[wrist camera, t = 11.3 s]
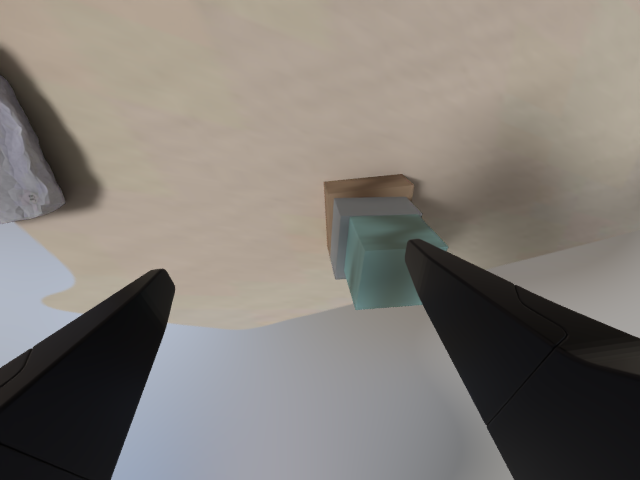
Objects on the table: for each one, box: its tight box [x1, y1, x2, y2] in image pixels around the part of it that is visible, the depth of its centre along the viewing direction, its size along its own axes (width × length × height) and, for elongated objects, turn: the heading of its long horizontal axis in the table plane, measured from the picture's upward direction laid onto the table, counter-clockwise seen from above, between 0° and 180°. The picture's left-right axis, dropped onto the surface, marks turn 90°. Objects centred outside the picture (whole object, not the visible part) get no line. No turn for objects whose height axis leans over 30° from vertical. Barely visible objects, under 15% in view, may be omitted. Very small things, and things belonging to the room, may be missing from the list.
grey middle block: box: [330, 197, 422, 279], centre depth 20 cm, size 6×6×3 cm
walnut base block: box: [324, 174, 414, 260], centre depth 22 cm, size 7×7×3 cm
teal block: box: [344, 214, 448, 310], centre depth 17 cm, size 5×5×4 cm
